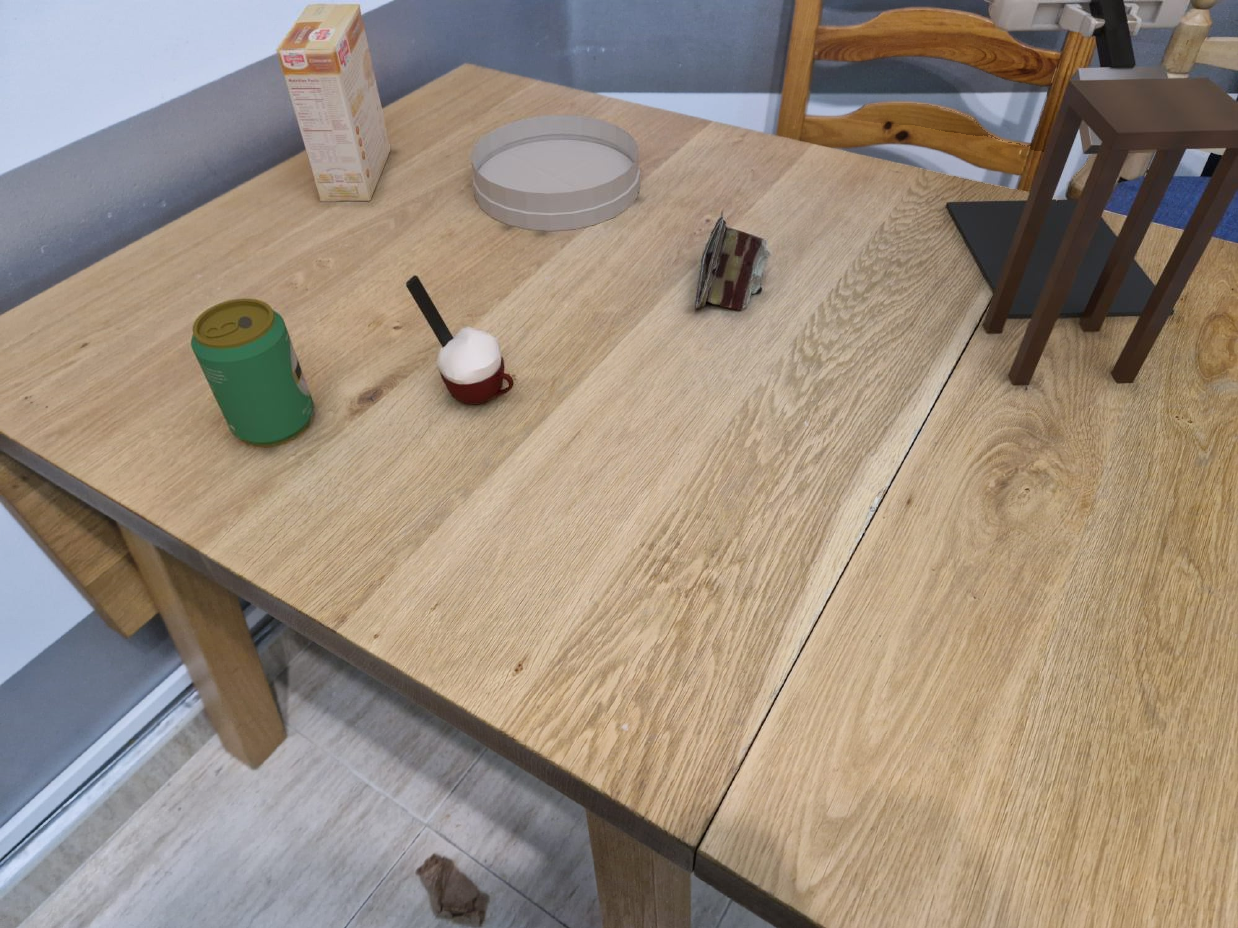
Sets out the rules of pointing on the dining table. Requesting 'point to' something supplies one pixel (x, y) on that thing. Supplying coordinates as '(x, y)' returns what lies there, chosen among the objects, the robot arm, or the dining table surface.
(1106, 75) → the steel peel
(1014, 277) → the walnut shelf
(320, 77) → the coffeecake box
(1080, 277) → the rubber mat
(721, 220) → the chocolate cake
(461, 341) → the cocoa
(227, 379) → the beverage can
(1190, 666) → the dining table surface
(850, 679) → the dining table surface
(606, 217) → the dish
